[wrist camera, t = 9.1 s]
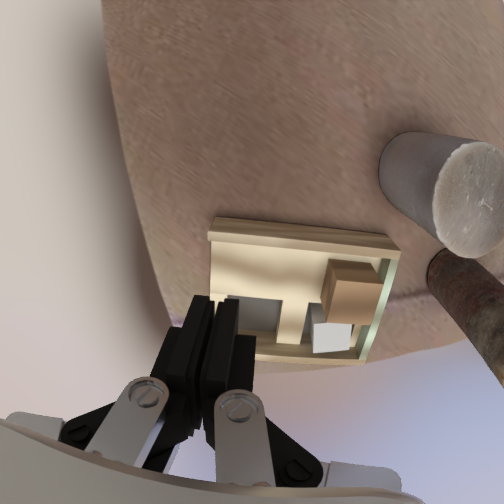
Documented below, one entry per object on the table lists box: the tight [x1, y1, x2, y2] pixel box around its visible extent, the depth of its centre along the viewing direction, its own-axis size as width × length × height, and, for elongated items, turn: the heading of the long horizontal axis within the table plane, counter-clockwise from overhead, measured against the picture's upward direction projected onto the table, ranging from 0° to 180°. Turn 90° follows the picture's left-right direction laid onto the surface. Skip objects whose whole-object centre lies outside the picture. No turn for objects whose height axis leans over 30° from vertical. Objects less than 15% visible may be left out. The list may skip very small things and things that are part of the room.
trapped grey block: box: [310, 303, 352, 353], centre depth 37 cm, size 4×4×4 cm
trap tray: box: [208, 216, 401, 365], centre depth 36 cm, size 16×20×5 cm
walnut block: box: [320, 259, 384, 325], centre depth 32 cm, size 5×5×5 cm
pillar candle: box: [379, 131, 504, 258], centre depth 25 cm, size 10×10×15 cm
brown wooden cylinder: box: [428, 248, 504, 388], centre depth 27 cm, size 8×7×20 cm
